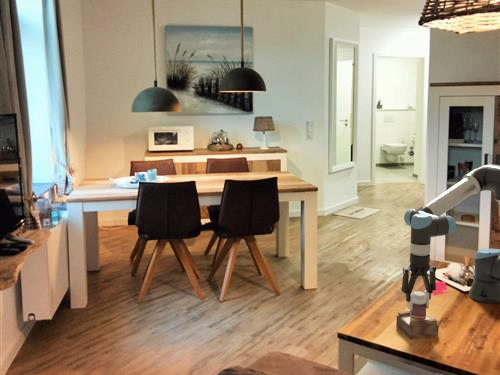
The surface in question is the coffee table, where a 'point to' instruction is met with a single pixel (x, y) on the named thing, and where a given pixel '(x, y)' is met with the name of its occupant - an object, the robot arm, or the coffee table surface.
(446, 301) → the coffee table surface
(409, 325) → the brown square open box
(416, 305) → the pill bottle
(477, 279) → the robot arm
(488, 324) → the coffee table surface
